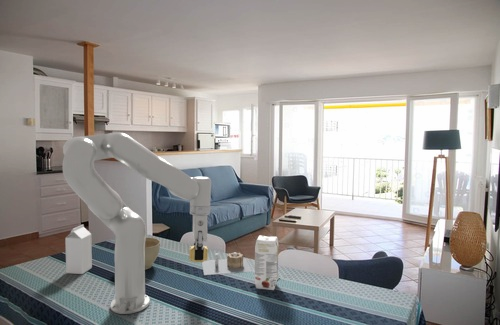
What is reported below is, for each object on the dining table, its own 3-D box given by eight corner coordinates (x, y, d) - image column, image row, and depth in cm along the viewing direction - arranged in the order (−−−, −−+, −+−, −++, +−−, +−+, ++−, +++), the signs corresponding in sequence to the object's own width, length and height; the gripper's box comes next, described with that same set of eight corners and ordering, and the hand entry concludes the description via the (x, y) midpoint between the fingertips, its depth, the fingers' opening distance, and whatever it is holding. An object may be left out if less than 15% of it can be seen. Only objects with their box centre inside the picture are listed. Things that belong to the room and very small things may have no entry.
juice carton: (276, 291, 126) (277, 241, 124) (253, 289, 127) (254, 240, 126) (278, 283, 133) (279, 235, 132) (256, 281, 135) (257, 234, 133)
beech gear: (245, 266, 146) (246, 256, 146) (232, 269, 142) (232, 259, 142) (237, 261, 151) (237, 251, 151) (224, 264, 148) (224, 254, 147)
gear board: (252, 275, 140) (252, 258, 140) (204, 278, 136) (204, 261, 136) (245, 261, 156) (245, 246, 155) (201, 263, 152) (201, 248, 151)
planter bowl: (154, 274, 139) (153, 249, 138) (115, 273, 140) (114, 248, 139) (164, 260, 155) (164, 237, 154) (129, 259, 156) (129, 236, 155)
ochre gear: (207, 262, 125) (208, 250, 125) (189, 262, 124) (189, 250, 123) (206, 256, 132) (206, 244, 131) (188, 256, 130) (189, 245, 130)
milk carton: (92, 267, 145) (91, 224, 144) (82, 274, 138) (81, 229, 137) (76, 267, 146) (75, 223, 145) (66, 273, 139) (64, 228, 138)
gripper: (212, 214, 119) (210, 264, 120) (208, 205, 136) (206, 249, 137) (190, 214, 117) (188, 265, 118) (189, 205, 134) (187, 249, 135)
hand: (198, 256), depth 128 cm, fingers closed on ochre gear, 6 cm apart
